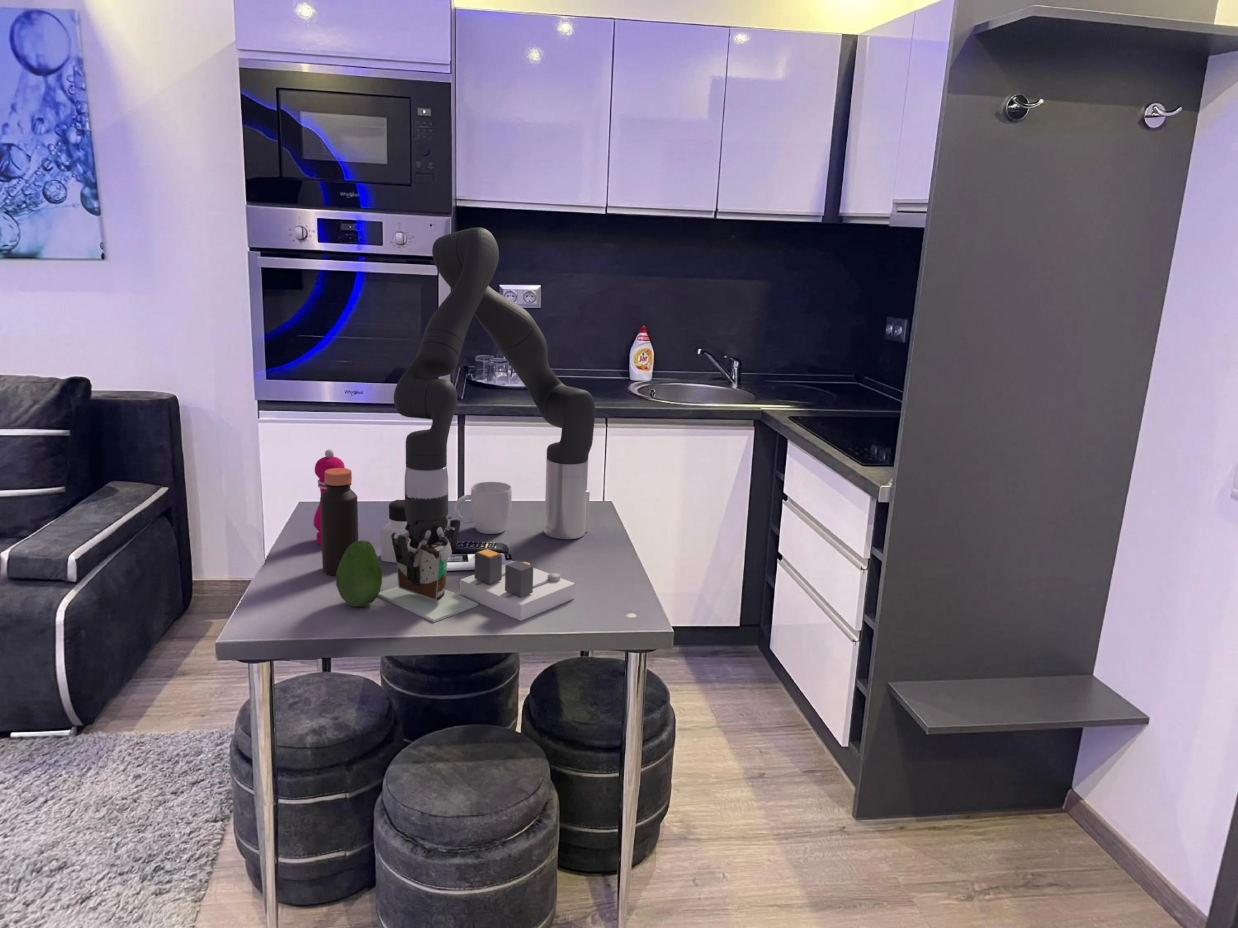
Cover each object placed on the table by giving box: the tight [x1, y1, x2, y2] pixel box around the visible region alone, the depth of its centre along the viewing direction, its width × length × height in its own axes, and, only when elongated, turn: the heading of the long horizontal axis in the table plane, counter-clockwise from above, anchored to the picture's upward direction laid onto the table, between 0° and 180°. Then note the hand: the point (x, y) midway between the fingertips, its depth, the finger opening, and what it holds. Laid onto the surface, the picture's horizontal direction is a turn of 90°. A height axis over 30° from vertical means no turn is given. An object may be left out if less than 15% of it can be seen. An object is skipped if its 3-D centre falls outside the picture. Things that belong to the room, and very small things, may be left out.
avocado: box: [335, 539, 383, 608], centre depth 158 cm, size 8×8×12 cm
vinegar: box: [319, 467, 359, 577], centre depth 172 cm, size 7×7×20 cm
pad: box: [377, 585, 479, 623], centre depth 163 cm, size 10×16×1 cm, turn 51°
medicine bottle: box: [380, 498, 407, 564], centre depth 181 cm, size 7×7×12 cm
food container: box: [392, 536, 453, 601], centre depth 162 cm, size 12×6×10 cm, turn 57°
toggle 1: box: [474, 548, 503, 585], centre depth 165 cm, size 3×4×5 cm
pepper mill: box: [313, 449, 346, 546], centre depth 187 cm, size 7×7×20 cm
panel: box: [459, 560, 576, 622], centre depth 166 cm, size 14×16×4 cm
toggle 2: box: [505, 560, 534, 597], centre depth 160 cm, size 3×4×5 cm
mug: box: [453, 481, 513, 535], centre depth 200 cm, size 13×9×10 cm
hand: (427, 579), depth 162 cm, fingers closed on food container, 5 cm apart
